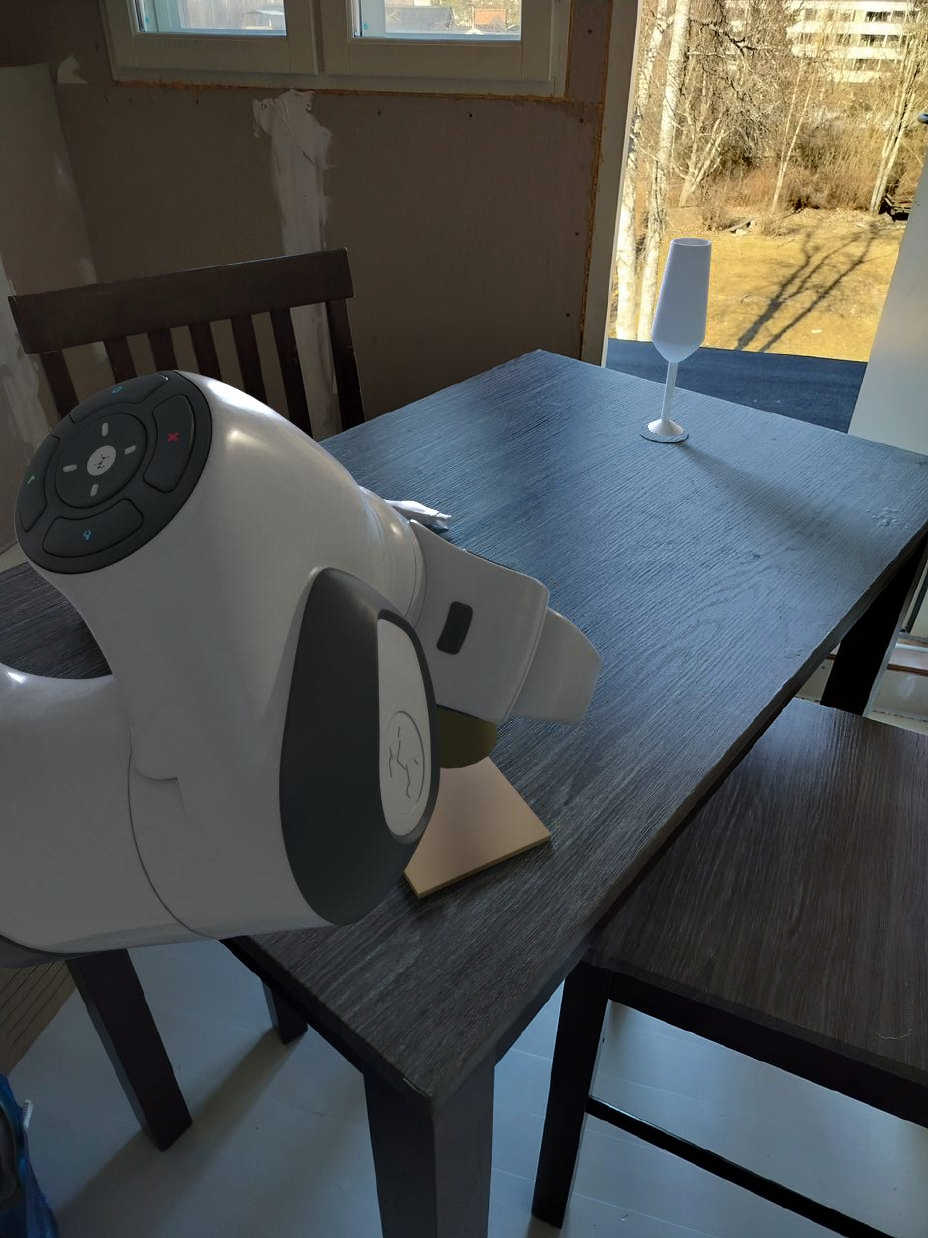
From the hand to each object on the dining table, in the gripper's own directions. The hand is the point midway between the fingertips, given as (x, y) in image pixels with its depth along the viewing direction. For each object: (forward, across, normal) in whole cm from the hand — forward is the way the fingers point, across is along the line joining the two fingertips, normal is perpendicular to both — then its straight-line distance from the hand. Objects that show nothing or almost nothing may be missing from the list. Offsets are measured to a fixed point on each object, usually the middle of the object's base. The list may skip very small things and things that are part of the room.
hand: (455, 656), depth 51 cm
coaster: (+9, 0, -10) cm, 14 cm away
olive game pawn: (+4, 0, -5) cm, 6 cm away
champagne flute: (+61, -8, +42) cm, 74 cm away
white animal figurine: (+34, -27, +15) cm, 46 cm away
